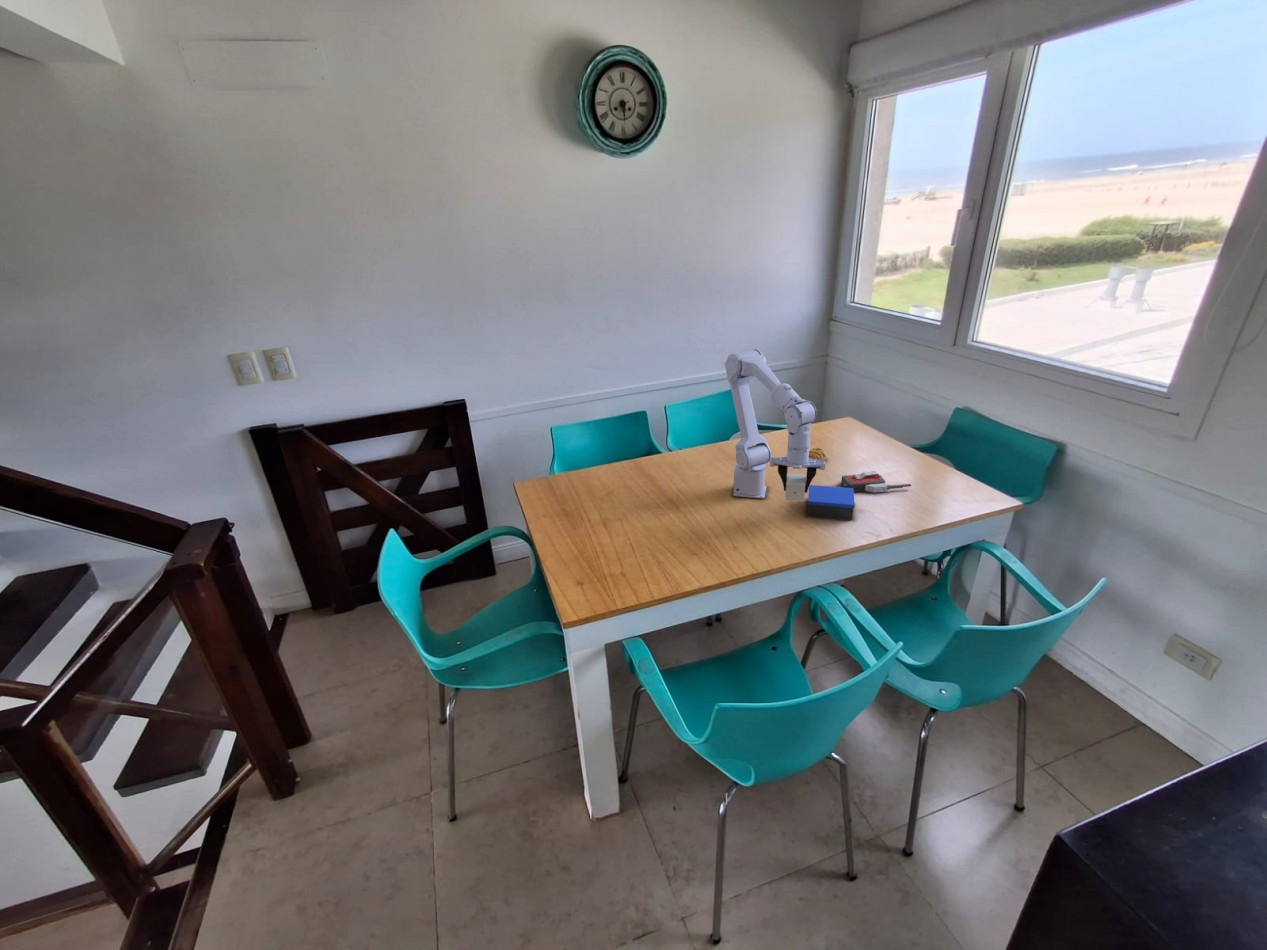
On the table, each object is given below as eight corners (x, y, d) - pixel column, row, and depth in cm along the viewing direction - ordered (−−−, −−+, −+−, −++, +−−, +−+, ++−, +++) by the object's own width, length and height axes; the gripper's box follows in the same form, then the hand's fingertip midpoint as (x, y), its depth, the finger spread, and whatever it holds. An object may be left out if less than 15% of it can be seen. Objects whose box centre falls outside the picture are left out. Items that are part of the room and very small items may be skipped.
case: (803, 501, 154) (805, 485, 151) (785, 499, 155) (786, 483, 153) (805, 489, 160) (806, 474, 158) (787, 488, 161) (788, 472, 159)
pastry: (816, 468, 187) (817, 458, 186) (797, 464, 191) (798, 454, 190) (827, 459, 194) (828, 448, 192) (809, 455, 198) (809, 445, 196)
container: (806, 516, 160) (808, 501, 158) (807, 499, 169) (809, 484, 167) (852, 520, 156) (854, 505, 154) (851, 503, 165) (853, 488, 163)
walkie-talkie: (847, 496, 169) (912, 490, 169) (848, 483, 167) (914, 477, 167) (836, 483, 177) (898, 478, 177) (837, 470, 175) (900, 465, 175)
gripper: (769, 450, 150) (767, 494, 156) (826, 453, 145) (822, 499, 151) (772, 440, 156) (770, 483, 162) (826, 443, 151) (822, 487, 157)
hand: (795, 490), depth 157 cm, fingers closed on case, 5 cm apart
